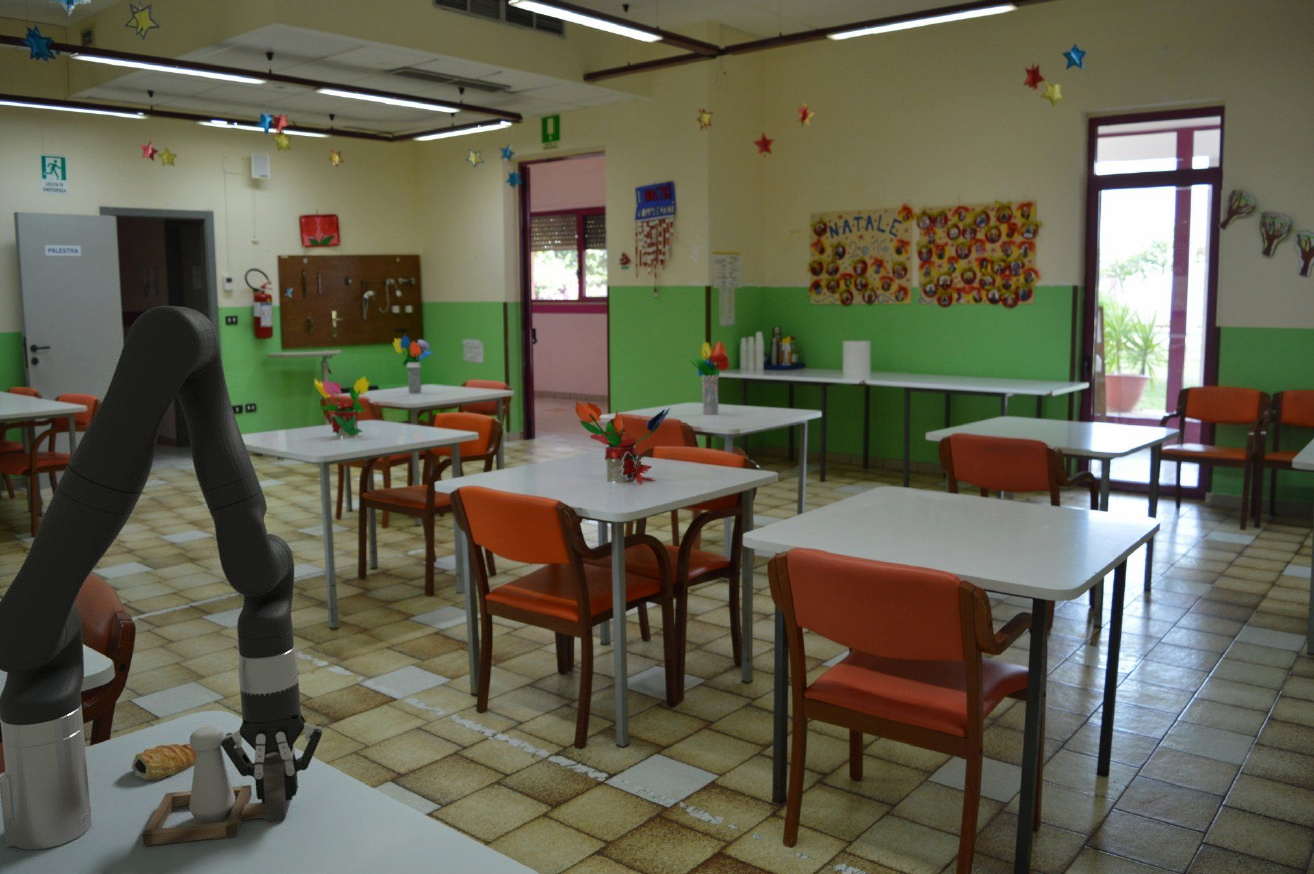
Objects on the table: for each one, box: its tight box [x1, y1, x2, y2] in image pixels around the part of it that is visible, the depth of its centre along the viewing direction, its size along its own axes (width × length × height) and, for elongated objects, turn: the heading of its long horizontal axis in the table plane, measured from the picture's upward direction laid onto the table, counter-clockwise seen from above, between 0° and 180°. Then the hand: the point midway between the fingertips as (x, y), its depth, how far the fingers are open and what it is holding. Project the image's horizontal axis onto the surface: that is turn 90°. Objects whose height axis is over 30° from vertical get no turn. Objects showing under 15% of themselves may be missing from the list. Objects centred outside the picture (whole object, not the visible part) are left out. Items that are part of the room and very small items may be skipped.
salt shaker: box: [188, 725, 236, 825], centre depth 138 cm, size 6×6×13 cm
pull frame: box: [142, 752, 292, 846], centre depth 138 cm, size 17×11×8 cm, turn 102°
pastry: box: [131, 743, 196, 781], centre depth 154 cm, size 9×7×4 cm
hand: (278, 798), depth 140 cm, fingers closed on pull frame, 2 cm apart
